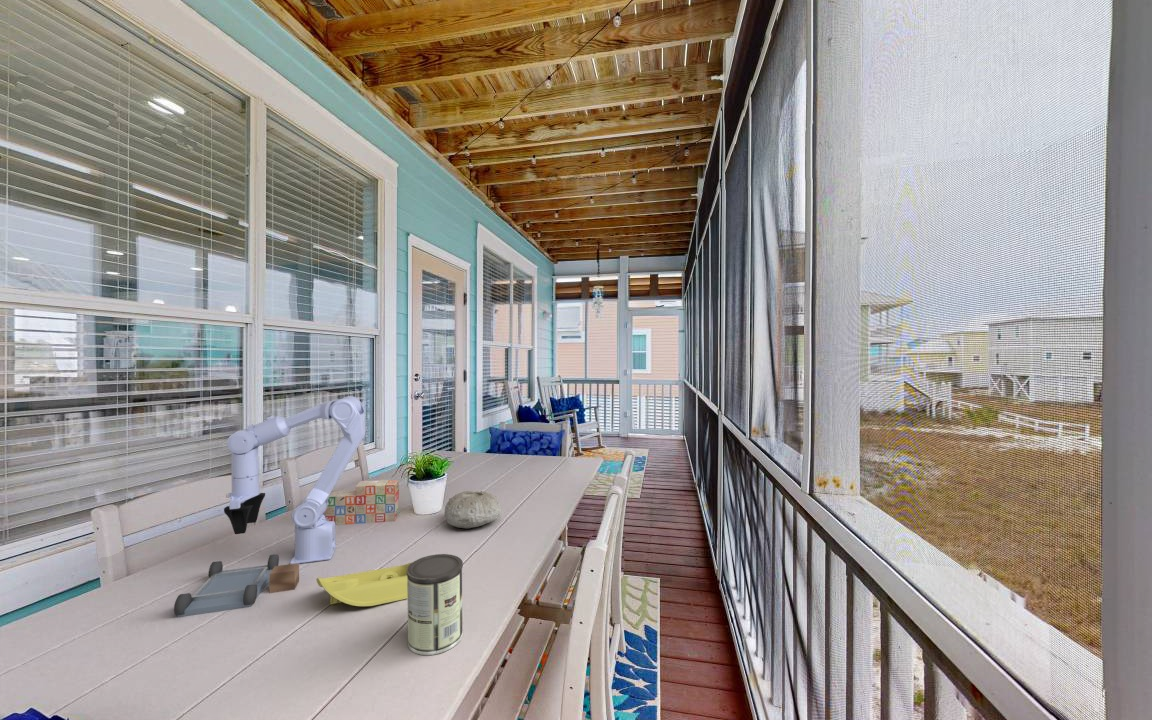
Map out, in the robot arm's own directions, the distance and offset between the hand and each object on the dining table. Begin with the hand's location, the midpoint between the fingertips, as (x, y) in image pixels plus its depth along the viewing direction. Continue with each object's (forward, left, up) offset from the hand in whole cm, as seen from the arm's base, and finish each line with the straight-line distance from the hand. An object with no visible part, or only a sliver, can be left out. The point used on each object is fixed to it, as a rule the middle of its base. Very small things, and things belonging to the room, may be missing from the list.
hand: (246, 527), depth 117 cm
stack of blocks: (-25, -24, -10) cm, 36 cm away
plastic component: (-32, +27, -10) cm, 43 cm away
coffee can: (-46, +48, -10) cm, 67 cm away
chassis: (-2, +15, -9) cm, 18 cm away
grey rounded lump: (-59, -9, -10) cm, 60 cm away
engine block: (-13, +17, -10) cm, 23 cm away
